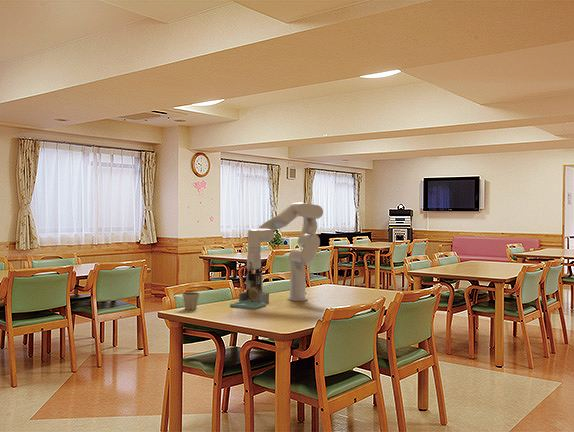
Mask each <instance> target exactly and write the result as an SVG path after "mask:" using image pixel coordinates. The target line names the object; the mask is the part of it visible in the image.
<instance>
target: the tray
mask: <svg viewBox="0 0 574 432" xmlns="http://www.w3.org/2000/svg"><path fill="white" fill-rule="evenodd" d="M229 306H230V308H238V309H239V308H240V309H247V310H248V309H250V310H257V309H261V308H264V307H266V306H267V303H261V302H251V301H239V300H238V301H235V302H232V303H230V304H229Z"/></svg>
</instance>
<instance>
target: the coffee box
mask: <svg viewBox="0 0 574 432" xmlns="http://www.w3.org/2000/svg"><path fill="white" fill-rule="evenodd" d="M253 274H254V280H253V281H249V280H248V273H246V275H245V287H246V289H245V290H246V291H245V292H246V301H250V302H251V301H258V300H259V295H260V294H263V292H264V289H263V273H262V272H260V273H255V272H253Z"/></svg>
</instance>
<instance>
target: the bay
mask: <svg viewBox="0 0 574 432" xmlns="http://www.w3.org/2000/svg"><path fill="white" fill-rule="evenodd" d="M239 301H246V291H243V292H239V293H238V302H239ZM253 302H261V303H266V304H269V302H270V293H269V292H267V291H265V292H264V291H263V294H260V295H259V300H258V301H253Z"/></svg>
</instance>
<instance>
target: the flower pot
mask: <svg viewBox="0 0 574 432" xmlns="http://www.w3.org/2000/svg"><path fill="white" fill-rule="evenodd" d="M199 296H200V292H196V291H195V292H193V291H190V292H182V297H183V304H184V310H187V311H190V310H192V311H195V310H197V308H198V300H199ZM194 309H195V310H194Z"/></svg>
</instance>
